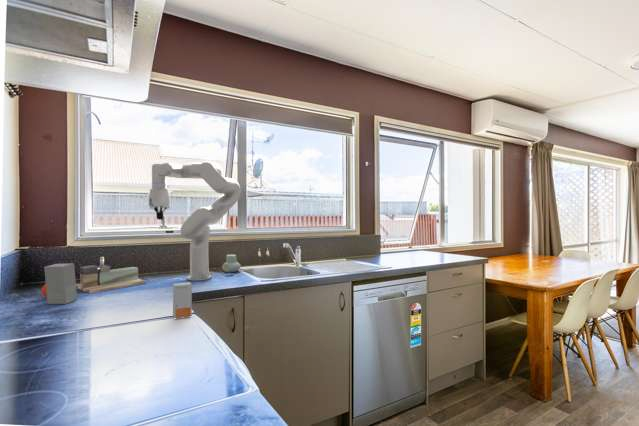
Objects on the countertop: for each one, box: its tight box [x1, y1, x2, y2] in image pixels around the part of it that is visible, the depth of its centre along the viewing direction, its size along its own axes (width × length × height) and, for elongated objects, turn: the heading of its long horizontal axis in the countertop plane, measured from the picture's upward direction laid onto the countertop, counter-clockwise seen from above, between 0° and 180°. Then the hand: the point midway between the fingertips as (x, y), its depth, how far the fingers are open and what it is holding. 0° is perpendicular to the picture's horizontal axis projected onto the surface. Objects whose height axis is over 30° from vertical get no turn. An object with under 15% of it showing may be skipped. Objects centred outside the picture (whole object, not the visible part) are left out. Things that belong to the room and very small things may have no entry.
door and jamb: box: [76, 264, 146, 294], centre depth 175 cm, size 18×25×11 cm
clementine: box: [41, 283, 47, 298], centre depth 152 cm, size 8×7×7 cm
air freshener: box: [221, 254, 242, 274], centre depth 212 cm, size 11×8×10 cm
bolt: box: [97, 256, 105, 272], centre depth 169 cm, size 2×10×7 cm, turn 142°
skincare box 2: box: [172, 281, 193, 319], centre depth 126 cm, size 6×4×12 cm
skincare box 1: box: [43, 262, 78, 305], centre depth 145 cm, size 8×7×16 cm
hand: (159, 219), depth 196 cm, fingers closed
